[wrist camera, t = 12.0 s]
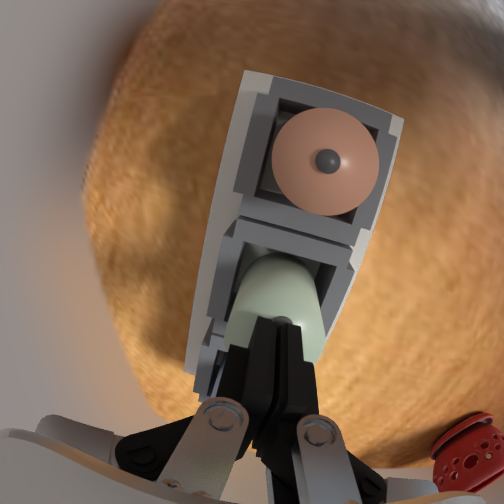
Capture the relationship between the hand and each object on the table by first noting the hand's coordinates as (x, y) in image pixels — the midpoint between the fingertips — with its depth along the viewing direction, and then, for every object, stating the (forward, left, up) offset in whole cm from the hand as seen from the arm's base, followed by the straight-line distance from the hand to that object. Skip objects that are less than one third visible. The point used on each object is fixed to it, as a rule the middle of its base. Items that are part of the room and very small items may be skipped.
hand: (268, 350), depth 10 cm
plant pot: (+20, +36, -9) cm, 42 cm away
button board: (0, 0, -9) cm, 9 cm away
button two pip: (0, 0, -5) cm, 5 cm away
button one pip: (-7, 0, -7) cm, 10 cm away
